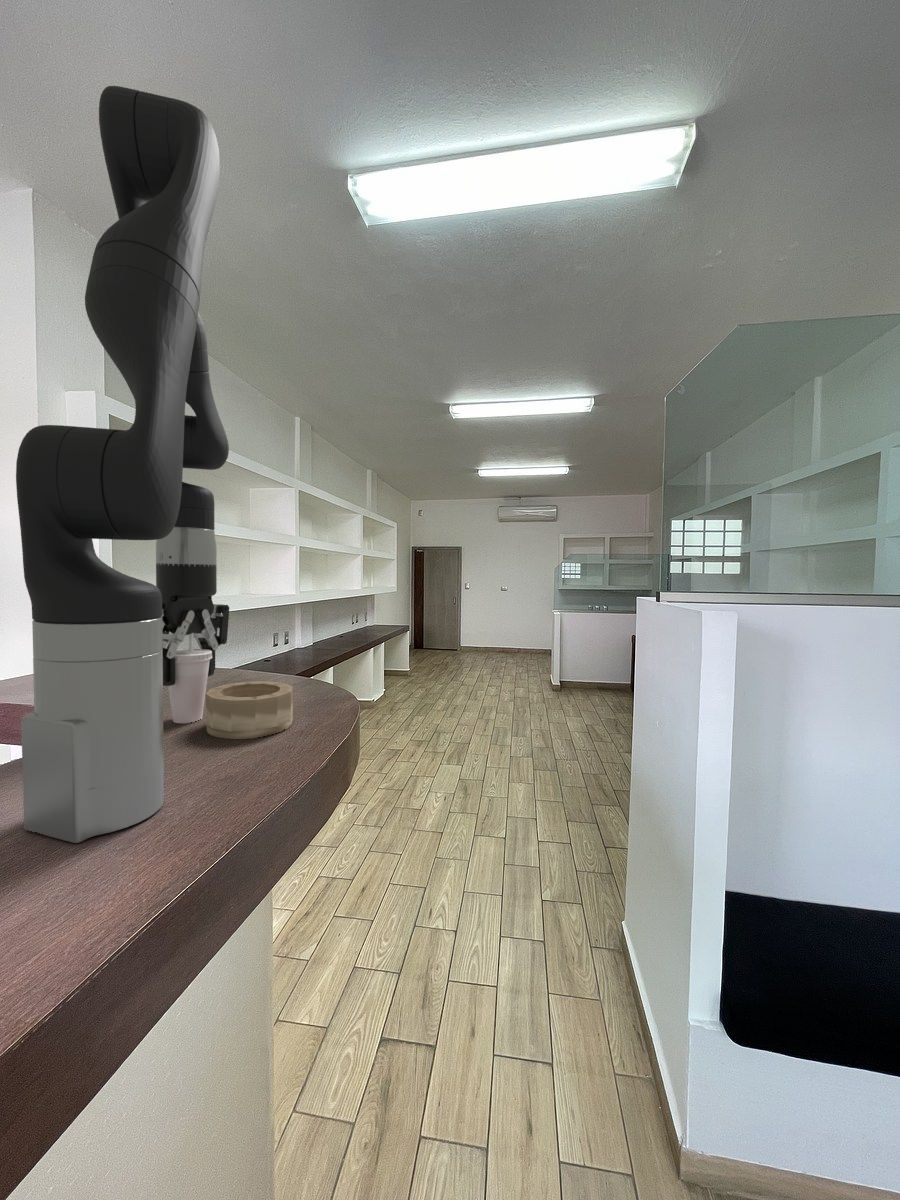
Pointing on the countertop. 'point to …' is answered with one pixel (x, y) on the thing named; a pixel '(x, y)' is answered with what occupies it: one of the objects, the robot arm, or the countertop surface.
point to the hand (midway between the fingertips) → (187, 679)
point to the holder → (249, 709)
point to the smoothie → (189, 683)
